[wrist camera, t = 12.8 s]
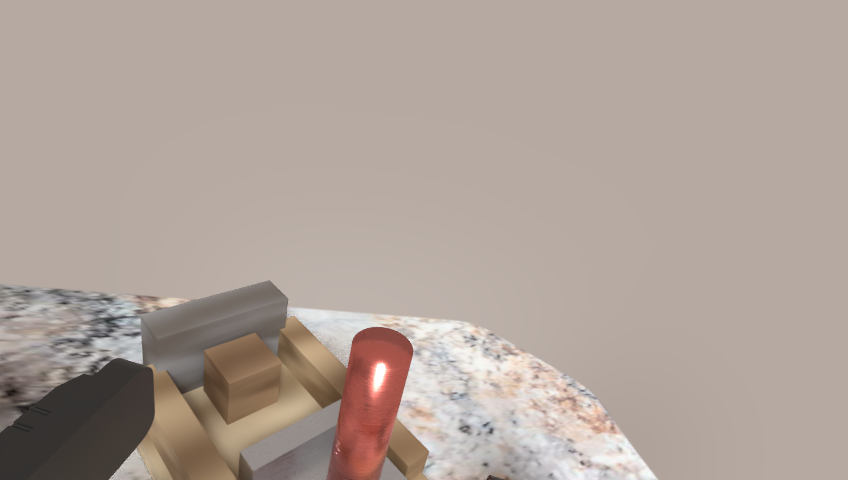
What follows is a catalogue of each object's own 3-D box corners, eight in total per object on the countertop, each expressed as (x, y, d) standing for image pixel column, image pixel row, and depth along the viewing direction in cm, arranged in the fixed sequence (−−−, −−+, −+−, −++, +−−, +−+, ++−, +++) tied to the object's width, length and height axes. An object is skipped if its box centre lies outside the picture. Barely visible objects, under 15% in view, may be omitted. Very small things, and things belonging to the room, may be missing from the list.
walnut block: (203, 390, 37) (203, 350, 35) (252, 370, 40) (254, 332, 38) (227, 425, 35) (229, 384, 33) (277, 401, 37) (281, 362, 36)
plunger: (236, 494, 30) (249, 308, 24) (340, 434, 36) (372, 271, 29) (304, 601, 26) (340, 409, 19) (409, 513, 31) (465, 342, 25)
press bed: (109, 395, 37) (101, 311, 33) (274, 336, 47) (281, 266, 43) (291, 748, 22) (310, 666, 19) (475, 555, 32) (510, 477, 29)
